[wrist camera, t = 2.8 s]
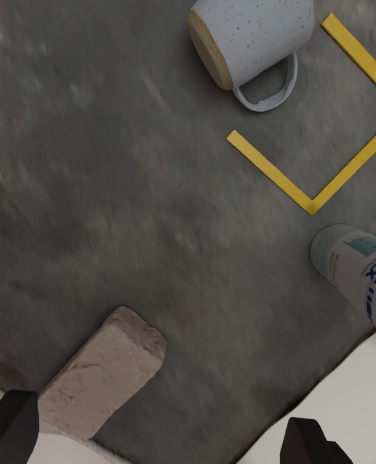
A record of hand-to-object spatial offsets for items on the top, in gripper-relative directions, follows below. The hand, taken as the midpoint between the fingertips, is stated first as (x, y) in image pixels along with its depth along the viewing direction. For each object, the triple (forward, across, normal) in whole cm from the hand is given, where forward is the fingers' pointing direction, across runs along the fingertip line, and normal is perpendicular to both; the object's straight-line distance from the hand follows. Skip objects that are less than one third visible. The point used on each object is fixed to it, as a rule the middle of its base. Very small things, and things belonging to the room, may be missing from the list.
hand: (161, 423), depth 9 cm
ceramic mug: (+24, -4, -18) cm, 31 cm away
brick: (+24, +8, +19) cm, 32 cm away
